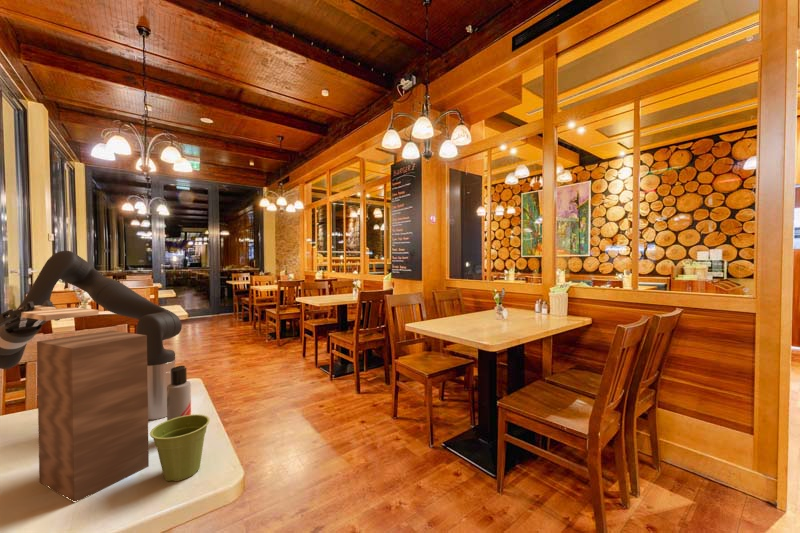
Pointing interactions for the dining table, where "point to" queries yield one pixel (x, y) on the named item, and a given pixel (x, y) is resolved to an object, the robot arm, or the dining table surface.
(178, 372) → the lotion bottle
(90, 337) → the walnut plinth
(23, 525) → the dining table surface
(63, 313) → the tan stepped slab
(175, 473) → the plant pot
